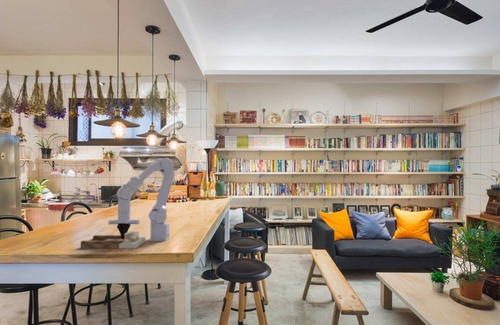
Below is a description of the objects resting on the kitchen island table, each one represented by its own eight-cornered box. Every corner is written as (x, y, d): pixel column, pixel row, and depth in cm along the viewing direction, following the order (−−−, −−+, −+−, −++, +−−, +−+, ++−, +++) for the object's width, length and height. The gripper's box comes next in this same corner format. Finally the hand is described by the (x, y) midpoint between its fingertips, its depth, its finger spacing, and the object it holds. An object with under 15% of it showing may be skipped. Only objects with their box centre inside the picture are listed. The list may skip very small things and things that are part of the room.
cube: (138, 239, 144) (138, 231, 144) (134, 242, 139) (134, 233, 139) (128, 239, 143) (128, 231, 144) (124, 242, 138) (124, 233, 139)
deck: (145, 241, 148) (145, 235, 148) (135, 248, 135) (135, 241, 135) (94, 241, 147) (95, 235, 147) (80, 248, 134) (80, 241, 134)
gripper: (105, 212, 137) (105, 240, 137) (135, 212, 138) (135, 240, 137) (112, 210, 144) (111, 237, 144) (140, 210, 145) (140, 237, 144)
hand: (123, 238), depth 141 cm, fingers closed
